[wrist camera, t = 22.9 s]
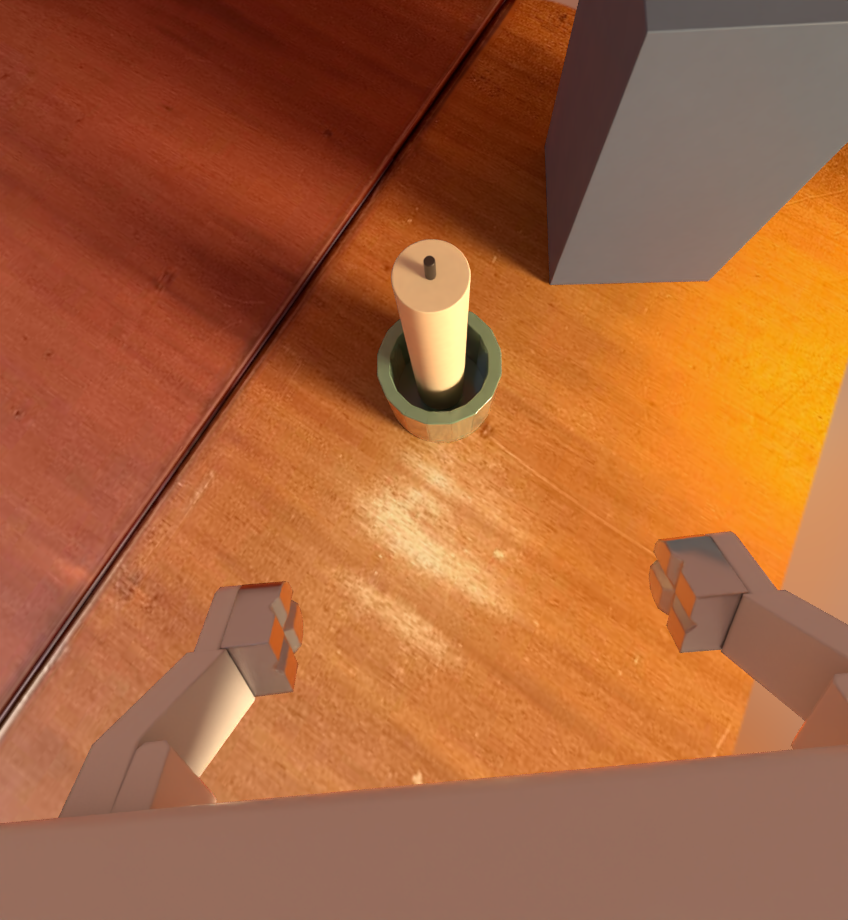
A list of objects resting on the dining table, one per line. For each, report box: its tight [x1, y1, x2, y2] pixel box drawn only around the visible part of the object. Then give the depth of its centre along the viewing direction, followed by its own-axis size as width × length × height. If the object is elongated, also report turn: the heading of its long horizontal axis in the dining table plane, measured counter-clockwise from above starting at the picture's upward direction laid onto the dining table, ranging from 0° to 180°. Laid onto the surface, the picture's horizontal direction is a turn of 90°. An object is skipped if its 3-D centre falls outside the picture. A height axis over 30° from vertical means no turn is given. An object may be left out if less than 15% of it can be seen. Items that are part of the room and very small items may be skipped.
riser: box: [545, 0, 848, 285], centre depth 25 cm, size 10×10×17 cm
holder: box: [377, 311, 502, 443], centre depth 30 cm, size 7×7×6 cm
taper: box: [391, 239, 471, 410], centre depth 25 cm, size 3×3×15 cm
